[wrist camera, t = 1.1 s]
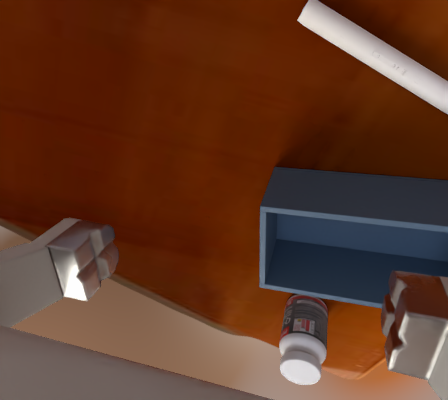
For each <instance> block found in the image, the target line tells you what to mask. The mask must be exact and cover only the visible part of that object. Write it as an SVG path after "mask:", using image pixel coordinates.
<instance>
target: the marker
mask: <svg viewBox="0 0 448 400" xmlns="http://www.w3.org/2000/svg"><path fill="white" fill-rule="evenodd" d="M298 22H300V23H301V24H302V25H303V26H305V27H307V28H308V29H310V30H312V31H313V32H315V33H316V34H318V35H320V36H321V37H323V38H324V39H326V40H328V41H329V42H331V43H333V44H334V45H336V46H337V47H339V48H341V49H342V50H344V51H346V52H347V53H349V54H350V55H352V56H354V57H355V58H357V59H359V60H360V61H362V62H363V63H365V64H367V65H368V66H370V67H371V68H373V69H375V70H376V71H378V72H380V73H381V74H383V75H384V76H386V77H388V78H389V79H391V80H393V81H394V82H396V83H397V84H399V85H401V86H402V87H404V88H405V89H407V90H409V91H410V92H412V93H414V94H415V95H417V96H418V97H420V98H422V99H423V100H425V101H427V102H428V103H430V104H431V105H433V106H435V107H436V108H438V109H440V110H441V111H443V112H444V113H446V114H448V81H447V80H445V79H443V78H442V77H440V76H439V75H437V74H435V73H434V72H432V71H430V70H429V69H427V68H426V67H424V66H422V65H421V64H419V63H418V62H416V61H414V60H413V59H411V58H409V57H408V56H406V55H405V54H403V53H401V52H400V51H398V50H397V49H395V48H393V47H392V46H390V45H389V44H387V43H385V42H384V41H382V40H380V39H379V38H377V37H376V36H374V35H372V34H371V33H369V32H368V31H366V30H364V29H363V28H361V27H360V26H358V25H356V24H355V23H353V22H351V21H350V20H348V19H347V18H345V17H343V16H342V15H340V14H339V13H337V12H335V11H334V10H332V9H330V8H329V7H327V6H326V5H324V4H322V3H321V2H319V1H318V0H309V1H308V2H307V4H306V6H305V7H304V9H303V11H302V13H301V15H300V17H299V19H298Z"/></svg>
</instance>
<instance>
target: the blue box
mask: <svg viewBox="0 0 448 400" xmlns="http://www.w3.org/2000/svg"><path fill="white" fill-rule="evenodd" d="M392 270H397V271H404V272H410V273H417V274H424V275H431V276H442V277H448V180H438V179H425V178H412V177H399V176H386V175H373V174H360V173H347V172H334V171H321V170H308V169H295V168H282V167H274V170H273V173H272V175H271V178H270V181H269V184H268V186H267V189H266V192H265V194H264V197H263V200H262V203H261V205H260V284H259V287H261V288H267V289H273V290H278V291H284V292H290V293H296V294H302V295H308V296H313V297H319V298H325V299H331V300H337V301H342V302H348V303H354V304H360V305H366V306H372V307H377V308H382V305H383V301H384V296H385V295H387V294H388V293H390V290H389V284H388V281H389V278H390V274H391V272H392Z"/></svg>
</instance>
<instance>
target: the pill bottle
mask: <svg viewBox="0 0 448 400" xmlns="http://www.w3.org/2000/svg"><path fill="white" fill-rule="evenodd" d="M327 323H328V310H327V307H326V305H325V303H324V302H323V301H322V300H321V299H319V298H318V297H313V296H308V295H302V294H297V295H294V296H292V297H291V298H290V299H289V300H288V301H287V303H286V307H285V313H284V319H283V326H282V332H281V337H280V343H279V348H280V352H281V354H282V357H281V363H280V371H281V373H282V374H283V376H284V377H285V378H287V379H288V380H290V381H292V382H294V383H297V384H301V385H310V384H314V383H316V382H318V381H319V379H320V377H321V364H322V363H323V361H324V360H325V358H326V350H327Z"/></svg>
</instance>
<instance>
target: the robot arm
mask: <svg viewBox="0 0 448 400" xmlns="http://www.w3.org/2000/svg"><path fill="white" fill-rule="evenodd" d="M114 238H115V234H114V230H113V227H111V226H110V225H108V224H102V223H97V222H91V221H86V220H80V219H74V218H66V219H64V220H62V221H61V222H59V223H58V224H57V225H55V226H54V227H52V228H51V229H50V230H48V231H47V232H45V233H44V234H42V235H41V236H40V237H38V238H37V239H35V240H34V241H33V242H31V243H30V244H28V243H24V244H21V245H17V246H14V247H11V248H8V249H5V250H1V251H0V400H273V399H268V398H265V397H262V396H258V395H254V394H251V393H247V392H243V391H240V390H236V389H232V388H229V387H225V386H221V385H217V384H214V383H210V382H207V381H203V380H199V379H196V378H192V377H188V376H185V375H181V374H177V373H174V372H170V371H166V370H163V369H159V368H155V367H152V366H148V365H144V364H141V363H137V362H133V361H129V360H126V359H122V358H119V357H115V356H111V355H108V354H104V353H100V352H97V351H93V350H89V349H86V348H82V347H78V346H74V345H71V344H67V343H64V342H60V341H56V340H53V339H49V338H45V337H42V336H38V335H34V334H31V333H26V332H23V331H20V330H16V329H12V328H10V327H12V326H13V325H15V324H17V323H19V322H21V321H22V320H24V319H26V318H28V317H30V316H31V315H33V314H35V313H37V312H39V311H40V310H42V309H44V308H46V307H48V306H49V305H51V304H53V303H55V302H57V301H58V300H60V299H62V298H63V296H64V297H69V298H74V299H79V300H84V301H88V300H89V299H90V298H91V297H92V296H93V295H94V294H95V292H96V291H97V290H98V289H99V288H100V287H101V281H102V280H104V279H106V278H108V277H110V276H111V275H112V273H113V272H114V271H115V269H116V266H117V264H118V257H119V254H118V248H117V247H116V246H115V245H114V244H113V242H112V241H113V240H114ZM388 284H389V290H390V293H388V294H387V295H385V296H384V301H383V305H382V313H381V325H382V333H383V334H384V335H385V336H386V337H387V340H386V343H385V354H386V360H387V366H388V370H389V371H393V372H397V373H401V374H405V375H409V376H413V377H417V378H421V379H424V380H428V383H429V385H430V386H431V387H432V388H433V390H434V391H435V392H436V394H437V395H438V396H439V398H440V399H441V400H448V277H442V276H431V275H424V274H417V273H410V272H404V271H397V270H392V272H391V274H390V278H389V281H388Z"/></svg>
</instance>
